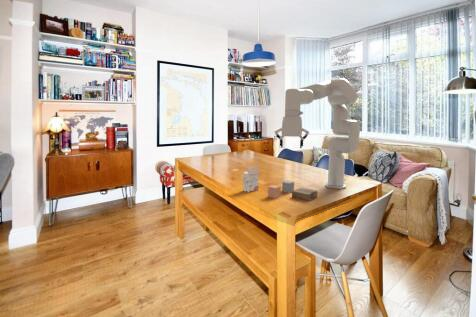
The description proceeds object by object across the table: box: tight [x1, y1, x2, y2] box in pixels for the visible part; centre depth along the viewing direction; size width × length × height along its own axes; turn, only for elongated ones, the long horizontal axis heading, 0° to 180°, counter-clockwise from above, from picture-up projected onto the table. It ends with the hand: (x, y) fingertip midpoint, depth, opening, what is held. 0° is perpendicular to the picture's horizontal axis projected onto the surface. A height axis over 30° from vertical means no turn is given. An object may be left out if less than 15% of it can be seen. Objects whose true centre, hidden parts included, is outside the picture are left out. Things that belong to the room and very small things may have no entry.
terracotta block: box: [267, 184, 282, 199], centre depth 143 cm, size 5×5×6 cm
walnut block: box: [291, 187, 318, 202], centre depth 142 cm, size 10×10×4 cm
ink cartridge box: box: [242, 166, 259, 193], centre depth 155 cm, size 9×5×15 cm, turn 126°
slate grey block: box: [281, 180, 295, 194], centre depth 153 cm, size 5×5×6 cm
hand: (291, 147), depth 130 cm, fingers open, 9 cm apart
